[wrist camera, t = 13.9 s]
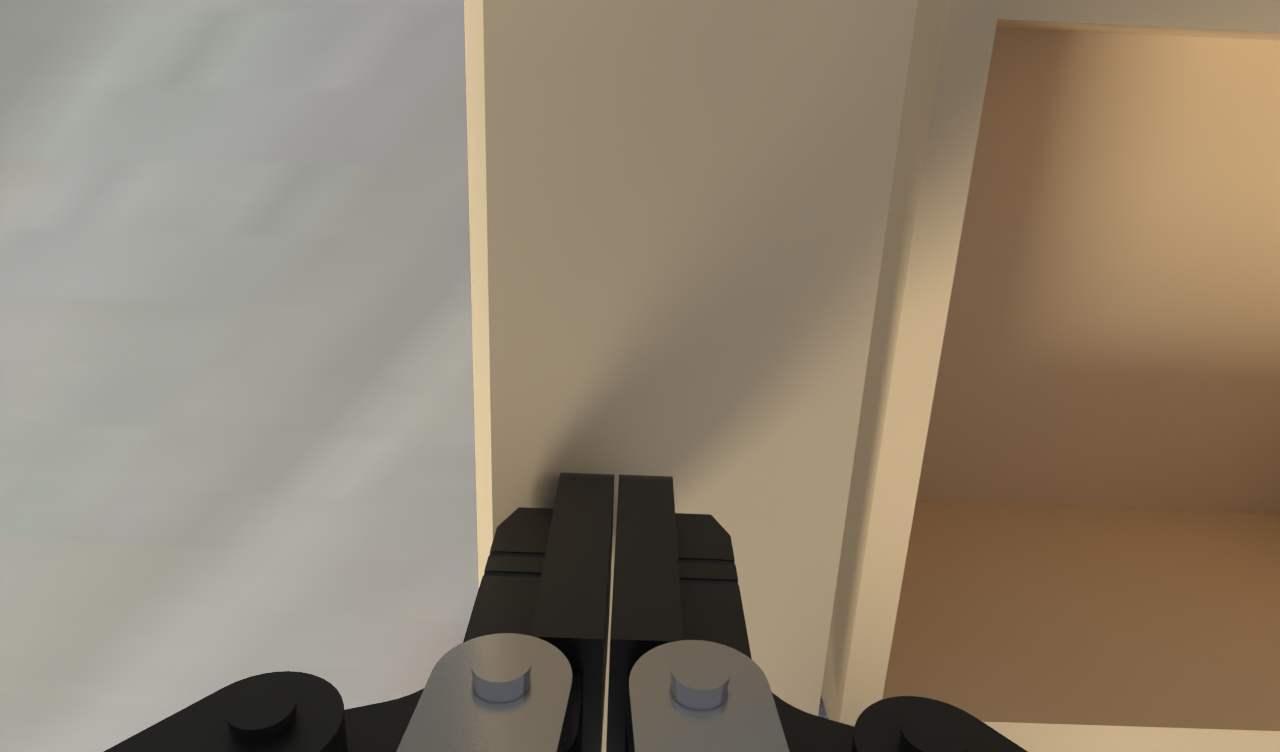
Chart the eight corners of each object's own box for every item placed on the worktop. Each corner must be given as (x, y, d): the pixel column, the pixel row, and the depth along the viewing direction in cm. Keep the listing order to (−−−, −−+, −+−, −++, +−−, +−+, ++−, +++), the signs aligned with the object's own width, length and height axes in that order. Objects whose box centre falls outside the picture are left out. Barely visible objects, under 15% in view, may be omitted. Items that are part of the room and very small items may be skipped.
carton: (1496, -3, 23) (2077, -22, 14) (1305, 541, 29) (1626, 789, 19) (824, -34, 23) (952, -74, 14) (766, 522, 29) (828, 764, 19)
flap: (482, -49, 9) (463, -48, 9) (500, 948, 14) (487, 928, 14) (919, -8, 13) (896, -9, 14) (813, 747, 18) (798, 735, 19)
